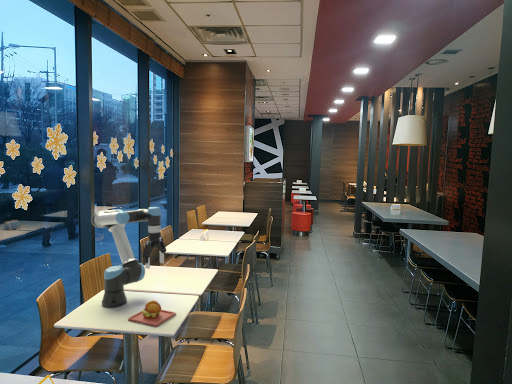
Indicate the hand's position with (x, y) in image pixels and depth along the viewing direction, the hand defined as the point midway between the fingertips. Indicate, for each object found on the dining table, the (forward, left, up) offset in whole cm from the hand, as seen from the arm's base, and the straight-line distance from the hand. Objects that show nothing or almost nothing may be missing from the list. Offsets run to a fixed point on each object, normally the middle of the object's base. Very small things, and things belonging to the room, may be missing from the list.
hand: (154, 265), depth 230 cm
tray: (+9, -14, -27) cm, 31 cm away
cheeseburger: (+9, -14, -26) cm, 31 cm away
